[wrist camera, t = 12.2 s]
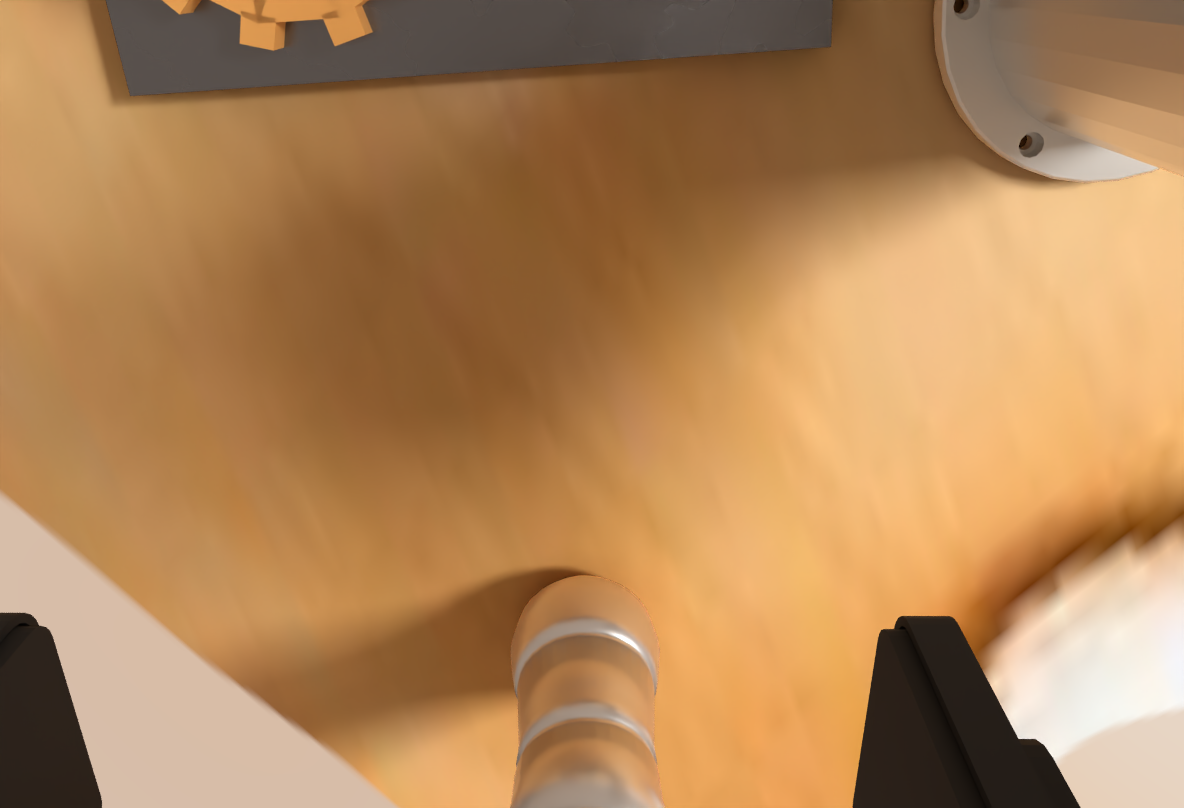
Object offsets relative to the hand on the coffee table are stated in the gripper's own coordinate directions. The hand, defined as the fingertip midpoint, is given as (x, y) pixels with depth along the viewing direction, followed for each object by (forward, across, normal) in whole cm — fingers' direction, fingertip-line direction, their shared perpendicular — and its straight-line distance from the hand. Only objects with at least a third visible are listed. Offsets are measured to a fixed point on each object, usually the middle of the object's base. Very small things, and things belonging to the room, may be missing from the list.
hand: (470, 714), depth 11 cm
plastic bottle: (+28, -1, +20) cm, 34 cm away
